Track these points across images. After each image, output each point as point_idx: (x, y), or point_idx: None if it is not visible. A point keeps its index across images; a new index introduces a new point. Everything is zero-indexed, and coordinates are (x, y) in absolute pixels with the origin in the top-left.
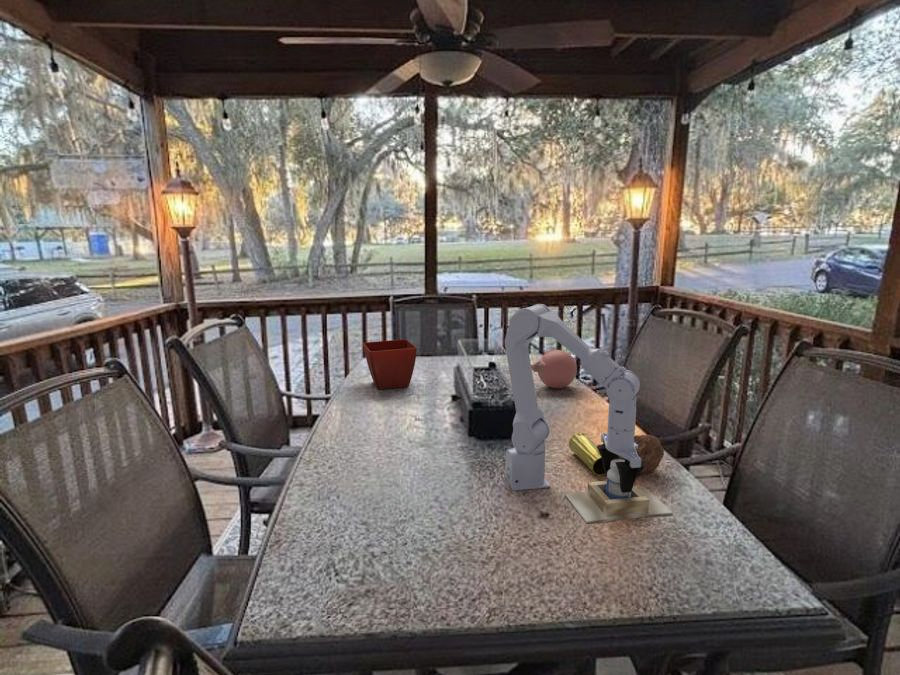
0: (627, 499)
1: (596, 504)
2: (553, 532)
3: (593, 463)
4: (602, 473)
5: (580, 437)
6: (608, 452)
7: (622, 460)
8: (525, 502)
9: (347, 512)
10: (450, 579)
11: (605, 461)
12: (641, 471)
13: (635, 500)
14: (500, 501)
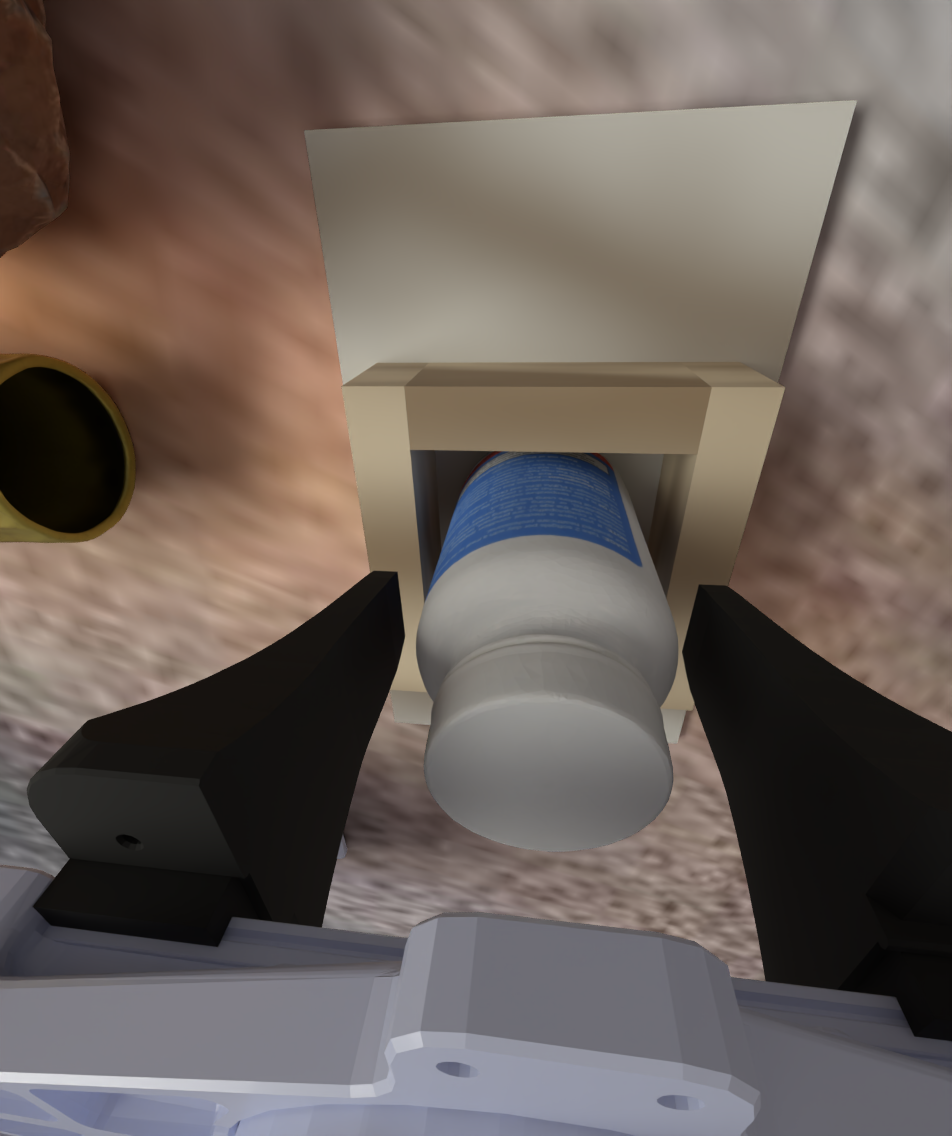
0: (697, 569)
1: None
2: (684, 846)
3: (75, 540)
4: (99, 411)
5: None
6: (308, 853)
7: (477, 733)
8: (439, 843)
9: None
10: None
11: (356, 765)
12: (40, 2)
13: (738, 518)
14: (421, 892)
